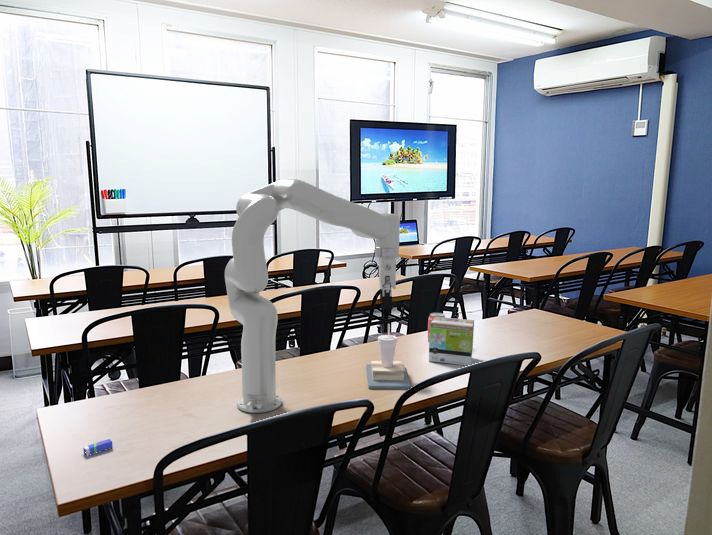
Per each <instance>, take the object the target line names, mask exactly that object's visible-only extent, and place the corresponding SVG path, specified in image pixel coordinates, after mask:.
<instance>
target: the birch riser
mask: <svg viewBox="0 0 712 535" xmlns="http://www.w3.org/2000/svg"><path fill="white" fill-rule="evenodd" d="M370 364H371V370H372V378H373V380H404V369H403V366H402V364H403V363H402V360H393V366H392V367H390V368H384V367H382V366H381V360H371V362H370Z"/></svg>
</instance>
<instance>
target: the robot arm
mask: <svg viewBox="0 0 712 535" xmlns="http://www.w3.org/2000/svg"><path fill="white" fill-rule="evenodd" d="M285 209H290V210H293V211H296V212H299V213H301V214H303V215H305V216H308V217H311V218H312V219H315V220H318V221H321V222H322V223H324V224H328V225H332V226H335V227H336V226H337V227H341V228H347V229H350V230H351V231H352V233H353V234H354V235H356V236H358V237H361V238H366V239H372V240H375V246H374V247H375V248H374V249H375V254H374V256H375V257H374V258H377V259H378V281H379V283H378V284H379V288H380V290H379V301H380V303H381V309H383V310H391V309H392V306H393V295H392V293H393V292H392V289H393V290H396V288H397V284H396V283H397V281H396V279H397V277H396V276H397V275H396V274H397V272H396V271H397V264H396V263H397V262H396V259H398V258H399V257H400V231H401V230H400V227H401V226H400V225H401V218H400V216H399V214H396V213H388V212H387V213H379V212H377V211H375V210H373V209H370V208H369V207H366V206H363V205H362V204H358V203H355V202H353V201H350V200H348V199H345V198H343V197H340V196H337V195H335V194H333V193H330V192H328V191H326V190H324V189H321V188H320V187H317V186H316V185H315V186H314V185H313V184H310V183H309V182H306V181H304V180H302V179H298V178H297V179H295V178H294V179H293V178H288V179H287V178H285V179H284V178H283V179H280V180H277V181H275V182H272V183H270V184H268V185H265V186H263V187H260V188H257V189H255V190H252V191H249V192H247V193H246V194H244V195H241V197H240V198H239V199H238V201H237V202H236V214H237V216H238V217H237V219H236V221H235V223H234V225H233V228H232V233H231V248H232V258H230V259H229V261H228V263H227V264H226V266H225V269H224V282H225V287H226V294H227V301H228V306H229V309H230V314H231V315H232V317H233V318H234V320H236V321H237V322H239V323H240V324H241V325H242V328H243V329H242V336H241V341H240V347H241V348H240V350H241V351H240V353H241V355H240V356H241V390H242V392H241V393H242V396H240V397H239V398H238V399H237V401H236V406H237V408H238V409H239V410H240V411H242V412H245V413H251V414H261V413H268V412H271V411H274V410H276V409H278V408H279V407H281V405H282V397H281V396H280V395H278V394H277V386H276V384H277V383H276V382H277V379H276V378H277V377H276V376H277V374H276V372H277V371H276V370H277V369H276V367H277V366H276V365H277V364H276V363H277V362H276V334H277V326H278V320H279V317H278V311H277V308H276V306H275V304H273V302H272V301H271V300H269V299H268V298H266V297H265V296H262V295H260V293H262V292H263V291H264V290H265V289H266V287H267V285H268V283H269V272H268V265H267V260H266V253H265V245H264V244H265V241H264V239H265V234H266V232H267V230H268V229H269V227H270V226H271V225H272V224H273V223H274V222H275V221H276V219H277V218H278V216H279V212H281V211H282V210H285Z"/></svg>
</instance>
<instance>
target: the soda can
mask: <svg viewBox="0 0 712 535" xmlns="http://www.w3.org/2000/svg"><path fill="white" fill-rule="evenodd" d="M434 317H444V318H446V315H445V313H442V312H431V313H429V316H428V321H427V342H428V343H429V341H430V324H431V322H432V320H433V318H434Z"/></svg>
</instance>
